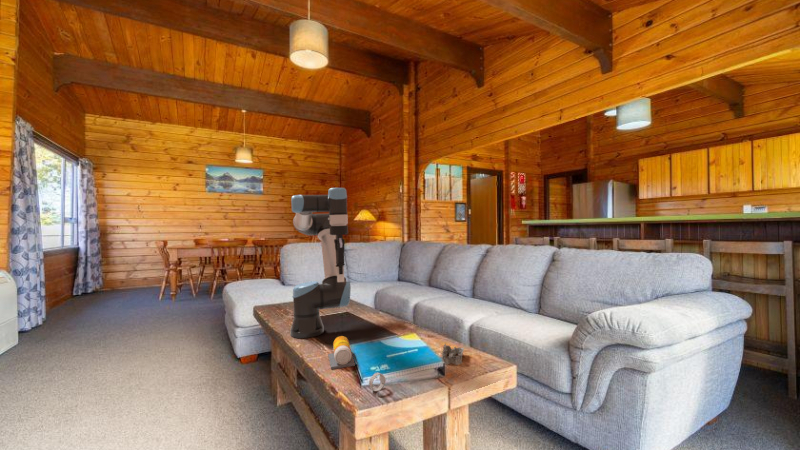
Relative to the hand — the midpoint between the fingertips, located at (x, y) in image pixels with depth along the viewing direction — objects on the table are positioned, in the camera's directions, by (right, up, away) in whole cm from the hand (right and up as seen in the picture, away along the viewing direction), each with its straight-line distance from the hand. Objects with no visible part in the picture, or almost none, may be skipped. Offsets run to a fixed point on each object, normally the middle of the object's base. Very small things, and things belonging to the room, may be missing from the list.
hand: (340, 281), depth 149 cm
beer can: (+1, -23, -7) cm, 24 cm away
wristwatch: (+18, -27, -41) cm, 52 cm away
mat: (+3, -27, -17) cm, 32 cm away
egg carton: (+44, -26, -19) cm, 54 cm away
